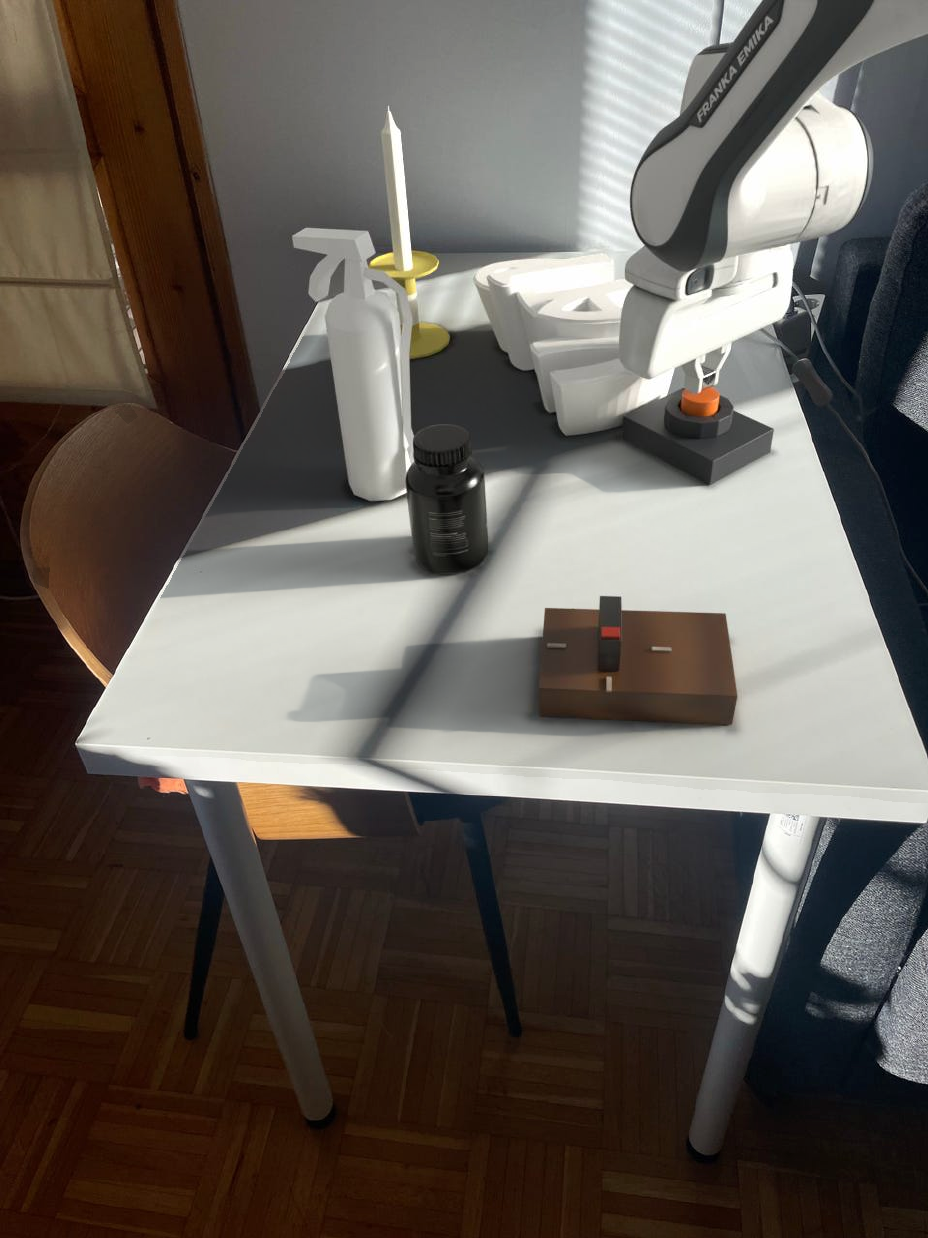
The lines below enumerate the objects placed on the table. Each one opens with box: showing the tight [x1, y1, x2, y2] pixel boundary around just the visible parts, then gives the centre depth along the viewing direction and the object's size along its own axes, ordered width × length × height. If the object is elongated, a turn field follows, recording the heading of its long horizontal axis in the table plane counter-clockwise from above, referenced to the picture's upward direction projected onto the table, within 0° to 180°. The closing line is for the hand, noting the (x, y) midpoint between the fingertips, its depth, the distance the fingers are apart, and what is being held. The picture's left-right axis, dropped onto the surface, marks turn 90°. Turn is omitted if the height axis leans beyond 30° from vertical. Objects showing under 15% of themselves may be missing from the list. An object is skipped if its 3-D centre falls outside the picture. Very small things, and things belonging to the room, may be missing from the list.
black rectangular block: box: [598, 595, 623, 671], centre depth 71 cm, size 5×2×3 cm, turn 173°
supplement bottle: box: [405, 423, 489, 575], centre depth 83 cm, size 7×7×12 cm
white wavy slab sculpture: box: [472, 252, 676, 437], centre depth 108 cm, size 35×16×11 cm, turn 12°
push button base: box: [621, 387, 775, 486], centre depth 97 cm, size 12×9×4 cm
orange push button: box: [681, 387, 720, 417], centre depth 95 cm, size 4×4×2 cm
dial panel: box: [538, 607, 738, 726], centre depth 73 cm, size 14×9×3 cm, turn 84°
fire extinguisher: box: [291, 227, 415, 502], centre depth 88 cm, size 7×12×25 cm, turn 58°
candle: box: [368, 105, 451, 360], centre depth 112 cm, size 10×10×27 cm
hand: (700, 387), depth 94 cm, fingers closed
